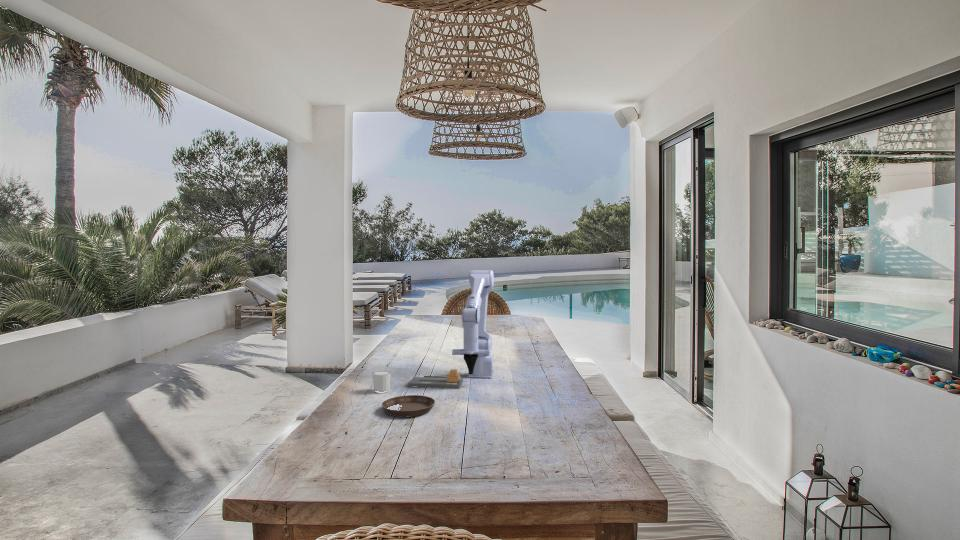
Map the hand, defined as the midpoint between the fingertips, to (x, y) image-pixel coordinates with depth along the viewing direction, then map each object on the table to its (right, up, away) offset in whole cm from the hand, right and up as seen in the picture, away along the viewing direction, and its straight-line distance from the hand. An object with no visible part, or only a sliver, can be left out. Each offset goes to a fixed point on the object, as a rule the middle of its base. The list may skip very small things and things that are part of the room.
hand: (471, 373), depth 228 cm
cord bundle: (-14, -4, +11) cm, 18 cm away
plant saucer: (-20, -7, -31) cm, 38 cm away
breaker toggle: (-7, -3, +1) cm, 8 cm away
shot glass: (-33, -6, -7) cm, 35 cm away
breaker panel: (-14, -5, +2) cm, 15 cm away
